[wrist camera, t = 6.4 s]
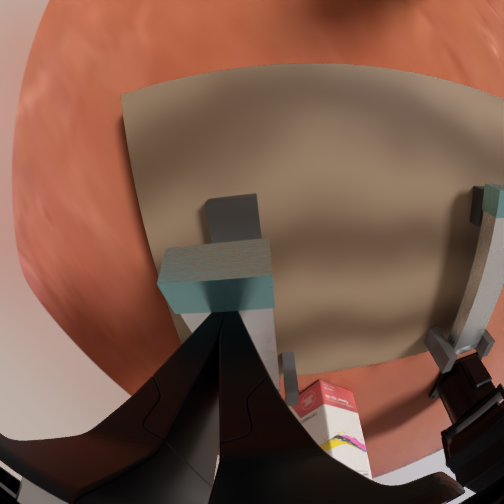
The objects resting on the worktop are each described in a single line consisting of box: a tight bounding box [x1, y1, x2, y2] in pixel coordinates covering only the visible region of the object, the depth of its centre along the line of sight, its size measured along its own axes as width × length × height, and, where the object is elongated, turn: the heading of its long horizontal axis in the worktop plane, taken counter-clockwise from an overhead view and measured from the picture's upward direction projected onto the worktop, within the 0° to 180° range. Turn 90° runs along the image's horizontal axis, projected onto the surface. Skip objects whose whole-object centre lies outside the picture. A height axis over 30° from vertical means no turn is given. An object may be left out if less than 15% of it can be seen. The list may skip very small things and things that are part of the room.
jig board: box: [121, 63, 504, 406], centre depth 14 cm, size 20×26×6 cm
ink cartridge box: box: [288, 380, 372, 480], centre depth 17 cm, size 9×5×15 cm, turn 146°
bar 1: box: [157, 238, 280, 392], centre depth 12 cm, size 13×3×1 cm, turn 6°
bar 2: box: [447, 183, 504, 355], centre depth 13 cm, size 13×3×1 cm, turn 6°
